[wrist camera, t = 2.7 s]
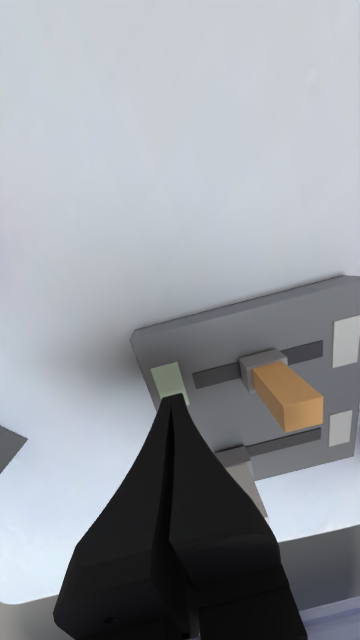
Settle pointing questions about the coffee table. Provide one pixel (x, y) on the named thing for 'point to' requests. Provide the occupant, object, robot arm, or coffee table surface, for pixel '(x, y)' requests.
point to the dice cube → (9, 446)
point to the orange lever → (282, 390)
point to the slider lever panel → (252, 338)
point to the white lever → (242, 473)
